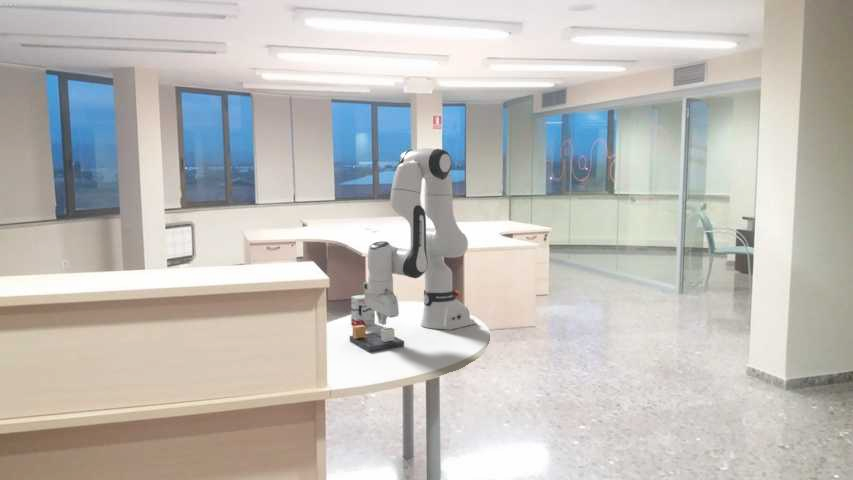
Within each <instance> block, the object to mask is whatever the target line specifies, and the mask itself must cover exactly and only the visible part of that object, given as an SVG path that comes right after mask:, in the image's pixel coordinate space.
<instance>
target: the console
mask: <svg viewBox="0 0 853 480" xmlns="http://www.w3.org/2000/svg"><path fill="white" fill-rule="evenodd" d="M349 342H350V343H351V344H353V345H355V346H357V347H359V348H360V349H362V350H364V351H366V352H367V353H372V352H379V351H386V350H390V349H396V348H397V349H398V348H403V347H405V341H404V340H403V339H401V338H398V337H397V336H395V335H394V340H393V341H387V342H384V341H382V340H381V331H376V332H375V331H374V332H368V333H366V337H363V338H356V339H355V338H354V337H353V335H349Z"/></svg>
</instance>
